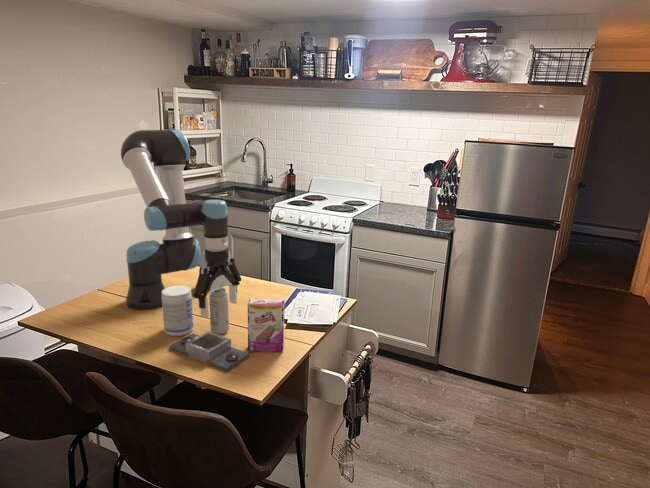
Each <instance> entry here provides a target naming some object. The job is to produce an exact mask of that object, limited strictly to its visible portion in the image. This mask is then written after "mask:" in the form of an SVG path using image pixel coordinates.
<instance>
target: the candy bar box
mask: <svg viewBox="0 0 650 488" xmlns="http://www.w3.org/2000/svg"><path fill="white" fill-rule="evenodd" d="M285 303H286V301H285V299H284V298H252V297H251V298H250V297H249V300H248V302H247V351H248V353H250V352H253V353H255V352H257V353H258V352H260V353H283V351H284V347H285V305H286V304H285Z"/></svg>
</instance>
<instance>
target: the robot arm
mask: <svg viewBox="0 0 650 488" xmlns="http://www.w3.org/2000/svg"><path fill="white" fill-rule="evenodd" d="M190 149H191V148H190V144H189V142H188V138H187V137H186V135H185V134H184V132H182V131H181V130H175V129H152V130H151V129H150V130H147V129H142V130H141V129H140V130H136V131H134V132H132V133H130V134H129V135H128V136H127V137H126V138H125V139H124V141H123V142H122V145H121V148H120V157H121V160H122V163H123V165H124V166H125V168H126V169H128V170H129V171H130V173H131V176H132V178H133V180H134V182H135V184H136V186H137V188H138V191H139V193H140V195H141V197H142V199H143V202H144V204H145V206H146V207H145V209H144V212H143V220H144V222H145V226H146V228H147V230H149V231H152V232H153V231H165V235H164V236H163V237H162V243H159V241H158V240H143V241H139V242H136V243H133V244H132V245H129V247H128V248H127V249H126V259H125V260H126V264H127V273H128V282H129V285H128V290H127V294H126V298H125V305H126V307H128V309H132V310H138V311H139V310H140V311H145V310H153V309H157V308H159V307H160V308H161V307H162V290H164V289H165V288H166V287H165V286H164V283H163V277H162V275H164V274H165V275H166V274H170V273H176V272H182V271H185V272H186V271H188V270H192V269H196V268H197V266H198V265H199V264H200V255H201V253H202V251H201V246H200V242H199V240H198V239H195V238H194V234H192V232H190V230H189V227H195V226H196V227H197V226H201V227H203V242H204V243H203V244H204V245H203V246H204V251H205V260H206V261H207V267H204V268H203V267H200V266H199V268H198V269H199V270H198V277H197V280H196V285H195V288H194V290H193V293H192V294H193V295H192V298H194V299H197V300H198V308H199V310H200V316H201V317H203V318H206V319H208V318H210V311H209V297H207V296H208V294H209V291H210V287H211V285H212V283H213V281H214V280H215V279H216V277H219V276H222V275H224V276H225V277H226V278H227V280H228V281H229V282H230V283H231V284H229V285H228V303H231V304H235V305H236V304H237V303H238V299H237V298H238V296H237V294H238V286H240V284H241V283H240V282H241V281H242V277H241V275H240V273H239V270H238V268H237V266H236V264H235V258H232V257H231V258H229V252H230V251H229V234H228V233H229V225H228V224H229V223H228V215H229V213H228V206H227V202H226V201H225V200H224V199H223V200H221V199H207V200H200V199H199V200H198V199H196V200H194V201H191V202H190V203H189V202H188V203H187V202H186V195H185V194H186V191H185V185H184V175H183V169H184V168H185V167H186V162H187V161H189V160H190V156H191V155H190V154H191V150H190ZM156 170H157V172H158V173H157V172H156ZM227 266H228V268H229V270H230V271H229V270H228V269H227ZM230 272H231V273H230ZM210 275H211V276H210Z"/></svg>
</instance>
